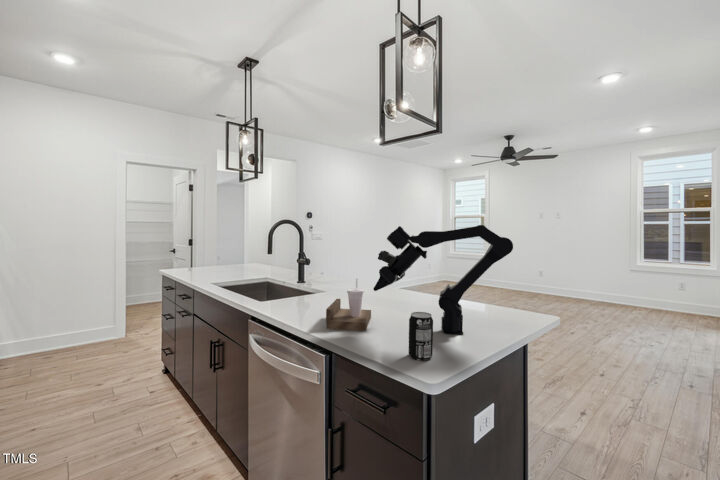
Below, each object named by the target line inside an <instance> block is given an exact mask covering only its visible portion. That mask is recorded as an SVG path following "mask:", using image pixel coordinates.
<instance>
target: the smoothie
mask: <svg viewBox="0 0 720 480" xmlns="http://www.w3.org/2000/svg"><path fill="white" fill-rule="evenodd" d="M346 293H347V298H348V307H349V308H348V309H350V316H351V317H359V316H360V314H361V310H362V306H363V298H364V293H365V289H363V288H358V278H355V287H354V288H348V289H347V290H346Z"/></svg>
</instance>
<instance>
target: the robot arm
mask: <svg viewBox="0 0 720 480" xmlns="http://www.w3.org/2000/svg"><path fill="white" fill-rule="evenodd" d="M478 237H479V238H481V240H484V241H485V242H486V243H488V244H489V245H490V246H489V247H488V249H487V250H486V252H485V253H484V255H483V256H482V257H481V258H480V259H479V260H478V261H477V262H476V263H475V264H474V265H473V266H472V267H471V269H469V270H468V271H467V272H466V273H465V274H464V275H463V277H461V279H459V281H458V282H456V283H455V284H454V285H452V286H450V284H447V285H446V287H445V288H444V289H443V290H442V291H440V293H439V298H438V306H439V308H440V309H441V310H443V314H442V315H443V316H441V319H440V320H441V322H440V323H441V330H442V333H444V334H447V335H448V334H449V335H450V334H451V335H464V332H463V324H464V323H463V322H464V319H463V317H464V315H463V308H462V307H463V306H462V305H461V304H460V303H459V302H460V300H461V299H462V297H463V295H464V294H465V293H466V291H467V290H468V289H469V288H471V287H472V286H473V285H474V284H475V282H477V280H479V279H480V278H481V276H482V275H484V273H485V272H487V270H489V268H491V266H493V265H494V264H495V263H496V262H498V261H501V259H504V258H505V257H506V256H508V255H509V254H511V253H512V252H513V249H514V243H513V241H512V240H511V239H510V238H508V237H503V236H499V235H498V234H496V233H495V232H493V231H492V230H490V229H489V228H488V227H487V226H486V225H483V224H479V225H475V226H470V227H464V228H457V229H451V230H444V231H439V230H437V231H435V230H434V231H429V230H428V231H427V230H425V231H421V232H420V233H419V234H418V235H413V234H412V235H410V234H409V233H407V232H406V230H404V228H403V227H402V226H401V225H400V226H398V227H396V229H395V230H393V231H392V232H390V234H388V236H387V237H386V241H387V242H389V243H390V244H391V245H392V246H393V247H394V248H395V249H396V250H399V249H400V250H402V252H401V253H400V254H397V255H393V254H391V253H390V251H387V250H380V252H379V253H378V256H377V260H379V261H382V262H384V263H387V265H385V266H381V268H380V269H379V271H378V274H379V278H378V280H377V282H376V283H375V285H374V287H373V290H372V291H374V292H377V291H379V290H381V289H383V288H386V287H388V286H390V285H392V284H394V283H396V282H398V281H400V280H401V279H403V278H404V277H405V276H406V271H408V270H409V269H410V268H411V267H412V266H413V264H414V263H415V262H416V261H418V259H419V258H421V257H422V258H423V259H424V260H425V259H427V257H428V256H427V253H428V250H423V249H422V248H424V249H426V248H430V247H433V246H437V245H440V244H442V243H445V242H451V241H458V240H465V239H473V238H478ZM408 244H409V245H408ZM414 244H418V245H414ZM407 245H408V246H407ZM404 248H405V249H404ZM403 249H404V250H403Z"/></svg>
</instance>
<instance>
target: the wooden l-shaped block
mask: <svg viewBox="0 0 720 480" xmlns="http://www.w3.org/2000/svg"><path fill="white" fill-rule="evenodd" d="M371 319H372V309H361V314H360V316H359V317H351V316H350V308H341V298H336V299H334V300H333V302H332V303H330V305H329V306H328V307H326V309H325V330H335V331H336V330H338V331H356V332H366V331H367V329H368V326H369V324H370V321H371Z"/></svg>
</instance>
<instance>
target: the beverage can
mask: <svg viewBox="0 0 720 480" xmlns="http://www.w3.org/2000/svg"><path fill="white" fill-rule="evenodd" d="M433 337H434V319H433V318H432V314H431V313H429V312H426V311H414V312H413V311H412V312H411V314H410V317H409V318H408V355H409V356H410V358H411V359H413V360H416V361H428V360H430V359H431V358H432V356H433V350H434V349H433V348H434V347H433V345H434V343H433V340H434V338H433Z"/></svg>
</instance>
